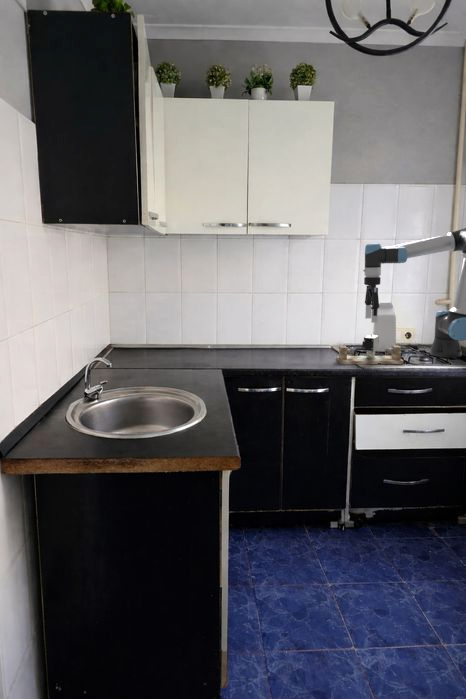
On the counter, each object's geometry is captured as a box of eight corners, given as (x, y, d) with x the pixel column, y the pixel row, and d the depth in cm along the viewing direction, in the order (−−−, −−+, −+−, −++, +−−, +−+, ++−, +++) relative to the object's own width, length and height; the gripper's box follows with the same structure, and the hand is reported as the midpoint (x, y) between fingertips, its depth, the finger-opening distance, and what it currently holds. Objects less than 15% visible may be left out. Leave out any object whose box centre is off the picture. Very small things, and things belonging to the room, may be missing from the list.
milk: (372, 351, 277) (374, 303, 272) (371, 347, 288) (373, 300, 283) (396, 351, 274) (398, 303, 269) (394, 347, 285) (396, 301, 280)
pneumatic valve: (378, 356, 257) (379, 332, 254) (371, 361, 247) (372, 336, 244) (367, 355, 259) (368, 332, 257) (360, 359, 250) (361, 335, 247)
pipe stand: (396, 358, 259) (397, 343, 257) (403, 363, 247) (404, 348, 245) (336, 358, 260) (337, 344, 258) (340, 364, 248) (341, 349, 247)
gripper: (359, 275, 257) (358, 316, 262) (370, 278, 233) (368, 324, 237) (374, 274, 257) (373, 316, 261) (386, 277, 233) (385, 324, 237)
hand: (371, 320), depth 249 cm, fingers open, 13 cm apart
